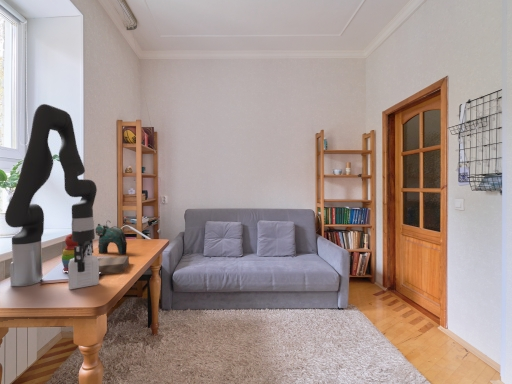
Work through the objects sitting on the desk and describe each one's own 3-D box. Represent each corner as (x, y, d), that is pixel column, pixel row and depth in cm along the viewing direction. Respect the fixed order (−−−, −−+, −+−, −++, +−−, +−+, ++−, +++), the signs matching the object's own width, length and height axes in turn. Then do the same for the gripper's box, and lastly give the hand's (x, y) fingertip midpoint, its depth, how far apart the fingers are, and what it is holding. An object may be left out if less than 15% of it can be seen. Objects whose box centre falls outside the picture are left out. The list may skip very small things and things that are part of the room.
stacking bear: (82, 272, 118) (81, 235, 117) (57, 275, 115) (56, 236, 115) (91, 265, 128) (90, 231, 128) (68, 267, 126) (67, 232, 125)
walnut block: (89, 275, 114) (88, 266, 114) (98, 266, 127) (98, 258, 127) (123, 272, 118) (123, 263, 118) (128, 263, 132) (128, 255, 132)
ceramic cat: (94, 253, 151) (94, 220, 151) (104, 251, 158) (103, 219, 157) (121, 256, 146) (120, 221, 145) (129, 253, 152) (129, 220, 151)
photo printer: (99, 281, 107) (98, 252, 107) (99, 284, 103) (98, 255, 103) (68, 287, 101) (68, 256, 101) (68, 290, 98) (67, 259, 97)
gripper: (78, 226, 107) (80, 264, 108) (65, 232, 94) (67, 275, 94) (98, 225, 110) (100, 262, 110) (88, 230, 96) (90, 272, 97)
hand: (85, 268), depth 102 cm, fingers open, 8 cm apart
